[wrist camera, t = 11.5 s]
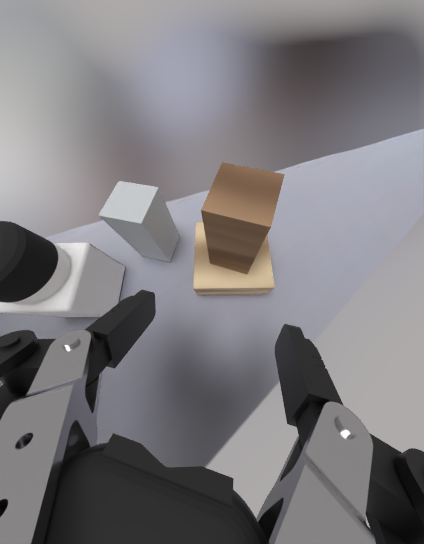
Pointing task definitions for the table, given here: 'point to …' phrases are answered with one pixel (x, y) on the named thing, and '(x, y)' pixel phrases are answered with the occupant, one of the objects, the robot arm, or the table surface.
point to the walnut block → (239, 215)
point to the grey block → (142, 220)
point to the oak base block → (230, 272)
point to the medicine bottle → (55, 276)
